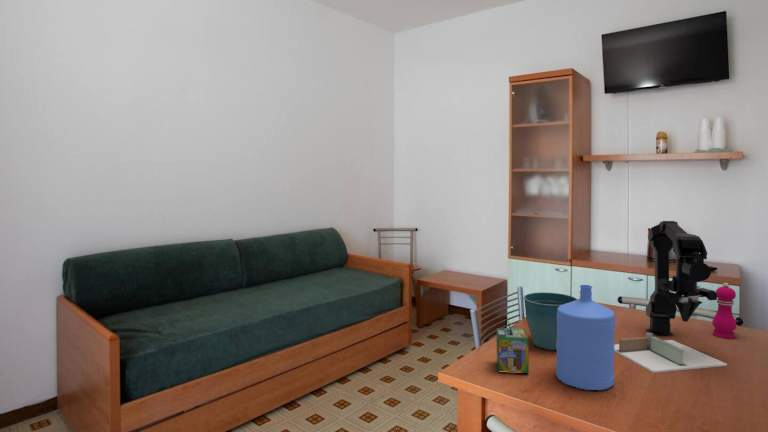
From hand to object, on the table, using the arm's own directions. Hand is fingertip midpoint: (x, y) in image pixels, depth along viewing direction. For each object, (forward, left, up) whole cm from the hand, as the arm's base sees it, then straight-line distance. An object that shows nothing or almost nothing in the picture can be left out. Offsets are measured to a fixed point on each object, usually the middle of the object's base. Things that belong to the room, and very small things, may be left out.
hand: (684, 321), depth 148 cm
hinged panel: (+1, -7, -11) cm, 13 cm away
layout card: (-2, -6, -12) cm, 13 cm away
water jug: (+9, -42, -12) cm, 45 cm away
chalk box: (-3, -59, -12) cm, 60 cm away
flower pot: (-19, -37, -12) cm, 43 cm away
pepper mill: (-14, +30, -12) cm, 35 cm away
